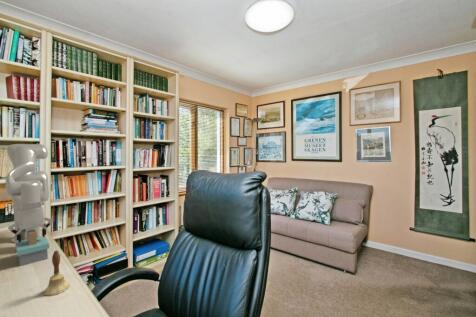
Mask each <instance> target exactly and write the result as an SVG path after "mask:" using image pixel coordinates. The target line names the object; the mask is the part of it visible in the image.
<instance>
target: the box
mask: <svg viewBox="0 0 476 317" xmlns="http://www.w3.org/2000/svg"><path fill="white" fill-rule="evenodd" d="M48 253H49V252H48V249H44V250H40V251H36V252H32V253H28V254H24V255H20V256H17V260H18V264H19V267H22V266H26V265H30V264H34V263H37V262H41V261H44V260H47V259H48V256H49V254H48Z"/></svg>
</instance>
